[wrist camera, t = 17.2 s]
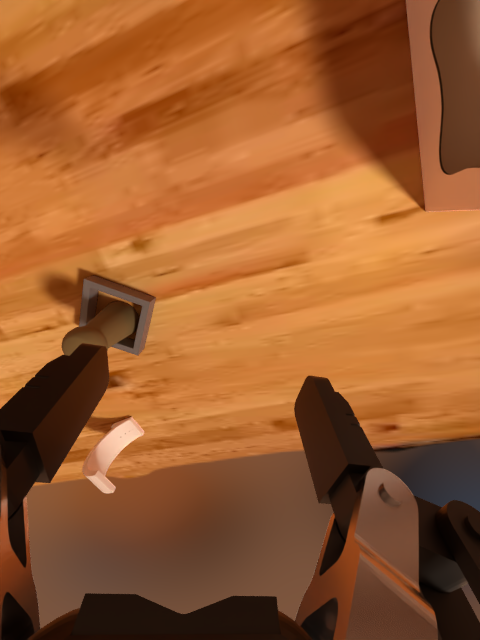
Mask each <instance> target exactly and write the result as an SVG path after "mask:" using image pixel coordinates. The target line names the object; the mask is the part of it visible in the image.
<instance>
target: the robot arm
mask: <svg viewBox="0 0 480 640" xmlns="http://www.w3.org/2000/svg"><path fill="white" fill-rule="evenodd" d="M108 382H109V368H108V356H107V349H106V347H105V346H100V345H93V344H86V343H82V344H80V345H79V346H78V347H77V348H76V349H75V350H74V351H73V353H72V354H71V355H70V356H68V355H62V356H60V357H58V358H56V359H54V360H53V361H51V362H49V363H47V364H46V365H45V366H44V367H43V368H42V369H41V370H40V371H39V372H38V373H37V374H36V375H35V377H33V378H32V379H31V380H30V381H29V382H28V383H27V384H26V385H25V387H22V388H21V389H20V390H19V391H18V392H17V393H16V394H15V395H14V396H13V397H12V398H11V399H10V400H9V401H8V402H7V403H6V404H5V405H4V406H3V407H2V408H1V409H0V640H480V622H479V621H478V619H477V617H476V615H475V613H474V611H473V609H472V607H471V605H470V604H469V602H468V600H467V598H466V596H465V594H464V592H463V590H462V588H461V587H463V586H465V585H467V584H469V586H470V587H471V589H472V591H473V593H474V595H475V596H476V598H477V600H478V602H479V604H480V512H479V511H477V510H476V509H475V508H473V507H472V506H470V505H468V504H466V503H464V502H461V501H457V500H453V501H450V502H449V503H447V504H446V505H445V506H444V507H439V506H437V505H435V504H432V503H430V502H428V501H425V500H423V499H421V498H418V497H416V496H414V495H413V494H412V493H411V491H410V490H409V488H408V487H407V486H406V485H405V484H404V483H403V481H401V480H400V479H399V478H398V477H397V476H396V475H394V474H393V473H391V472H389V471H387V470H385V469H383V467H382V465H381V463H380V461H379V460H378V458H377V456H376V454H375V452H374V450H373V448H372V446H371V445H370V443H369V441H368V439H367V437H366V435H365V433H364V431H363V429H362V428H361V427H360V424H359V422H358V420H357V418H356V417H355V416H354V415H355V414H354V413H353V411H352V409H351V407H350V405H349V403H348V402H347V401H346V400H345V399H344V398H343V397H342V396H341V394H340V393H339V392H335V391H334V389H333V387H332V385H331V383H330V381H329V380H328V379H327V378H323V377H316V376H308V377H307V378H306V379H305V382H304V384H303V386H302V388H301V390H300V392H299V395H298V397H297V399H296V402H295V408H294V411H295V417H296V421H297V425H298V428H299V432H300V436H301V439H302V443H303V447H304V450H305V454H306V458H307V461H308V465H309V468H310V472H311V476H312V480H313V483H314V487H315V491H316V494H317V498H318V502H319V503H326V504H331V505H332V508H333V511H334V513H333V514H332V516H331V518H330V521H329V525H328V528H327V531H326V535H325V538H324V542H323V545H322V548H321V551H320V555H319V558H318V562H317V565H316V568H315V572H314V575H313V578H312V580H311V582H310V584H309V586H308V588H307V590H306V592H305V594H304V596H303V598H302V601H301V604H300V606H299V609H298V612H297V615H296V618H295V621H294V620H292V619H291V618H289V617H288V616H287V615H285V614H284V613H282V612H280V611H278V607H277V598H276V597H269V596H231V597H229V598H226V599H224V600H221V601H219V602H216V603H214V604H211V605H209V606H206V607H204V608H201V609H198V610H196V611H193V612H191V613H188V614H180V613H177V612H175V611H172V610H170V609H168V608H166V607H163V606H161V605H159V604H157V603H154V602H152V601H150V600H147V599H145V598H143V597H141V596H139V595H136V594H85V596H84V599H83V602H82V604H81V607H80V608H78V609H75V610H72V611H70V612H68V613H66V614H64V615H62V616H60V617H58V618H56V619H55V620H53V621H52V622H50V623H49V624H47V625H46V626H44V627H43V628H41V629H40V618H39V606H38V598H37V592H36V587H35V583H34V580H33V575H32V568H31V557H30V556H31V555H30V541H29V527H28V512H27V499H26V495H27V493H28V492H29V490H30V489H31V487H32V486H33V484H34V483H35V482H43V483H50V482H51V480H52V479H53V477H54V475H55V474H56V472H57V470H58V469H59V467H60V466H61V464H62V462H63V461H64V459H65V457H66V456H67V454H68V452H69V451H70V449H71V447H72V446H73V444H74V442H75V441H76V439H77V438H78V436H79V434H80V433H81V431H82V429H83V428H84V426H85V424H86V423H87V421H88V419H89V418H90V416H91V414H92V413H93V411H94V410H95V408H96V406H97V405H98V403H99V401H100V400H101V398H102V396H103V395H104V393H105V391H106V389H107V386H108Z"/></svg>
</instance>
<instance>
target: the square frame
mask: <svg viewBox="0 0 480 640" xmlns="http://www.w3.org/2000/svg"><path fill="white" fill-rule="evenodd" d="M98 290H99V291H102V292H105V293H107V294H110V295H113V296H116V297H119V298H122V299H124V300H127V301H130V302H133V303H136V304H138V305H141V306H142V310H141V314H140V319H139V324H138V329H137V333H136V338H135V340H132V339H129V338H124V339H122V340H121V341H119V342H118V343H116V344H114V345H113V346H111V347H114V348H117V349H120V350H123V351H126V352H129V353H132V354H135V355H139V354H140V353H141V352H142V350H143V349H144V347H145V342H146V338H147V334H148V329H149V325H150V321H151V317H152V312H153V308H154V304H155V299H156V297H153V296H150V295H147V294H144V293H142V292H139V291H136V290H133V289H131V288H128V287H125V286H122V285H119V284H117V283H114V282H111V281H108V280H105V279H103V278H100V277H97V276H94V275H93V276H90V277H87V278H84V282H83V292H82V303H81V313H80V323H79V327H81V326H85V325H87V324H88V323H89V322H90V321H91V320H92V319H93V318H94V317H95V313H96V305H97V297H98Z"/></svg>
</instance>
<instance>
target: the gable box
mask: <svg viewBox="0 0 480 640" xmlns="http://www.w3.org/2000/svg"><path fill="white" fill-rule="evenodd" d="M406 9H407V20H408V30H409V41H410V52H411V62H412V73H413V84H414V94H415V105H416V116H417V126H418V137H419V148H420V158H421V169H422V180H423V190H424V201H425V211H427V212H440V211H467V210H480V0H406Z"/></svg>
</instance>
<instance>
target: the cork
mask: <svg viewBox="0 0 480 640" xmlns="http://www.w3.org/2000/svg"><path fill="white" fill-rule="evenodd" d="M139 319H140V318H139V315H138V313H137V311H136V310H135V309H134V308H133V307H132V306H131V305H129V304H127V303H125V302H121V301H115V302H112V303H110V304H108V305H107V306H106V307H105V308H104V309H103V310H102V311H101V312H100V313H98V314H97V315H96V316H95V317H94V318H93V319H92V320H91V321H90V322H89V323H88V324H87V325H85V326H81V327H77V328H74V329H73V330H71V331H69V332H68V333H67V334H66V335H65V337H64V338H63V341H62V350H63V353H64V354H65V355H68V356H70V355H71V354H72V353H73V351H74V350H75V349H76V348H77V347H78V346H79V345H80V344H82V343H86V344H93V345H100V346H105V347H106V349H107V350H108V348H110V347H111V346H113V345H114V344H116V343H118V342H119V341H121V340H122V339H124V338H126V337H127V336H129V335H131V334H132V333H134V332H135V331H136V330H137V329H138V324H139Z"/></svg>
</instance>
